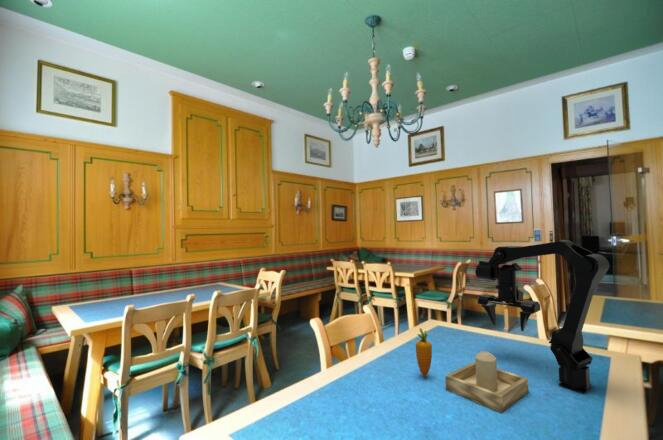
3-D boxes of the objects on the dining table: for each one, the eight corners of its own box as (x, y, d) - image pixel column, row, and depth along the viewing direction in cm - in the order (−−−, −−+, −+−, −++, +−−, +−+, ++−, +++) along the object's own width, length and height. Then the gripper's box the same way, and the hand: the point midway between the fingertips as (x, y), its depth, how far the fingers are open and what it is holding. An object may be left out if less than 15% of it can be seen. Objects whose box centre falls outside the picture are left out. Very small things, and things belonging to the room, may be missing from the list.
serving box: (528, 392, 94) (528, 378, 94) (501, 413, 84) (500, 397, 84) (475, 373, 106) (474, 361, 106) (445, 389, 97) (445, 375, 97)
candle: (501, 392, 92) (499, 356, 93) (481, 392, 92) (480, 356, 93) (491, 382, 98) (490, 348, 98) (473, 383, 98) (472, 349, 98)
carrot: (433, 381, 102) (432, 332, 103) (417, 379, 103) (415, 331, 104) (432, 374, 107) (430, 327, 107) (416, 373, 108) (414, 326, 108)
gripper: (545, 282, 112) (547, 329, 112) (490, 277, 127) (491, 318, 126) (532, 287, 105) (534, 336, 105) (476, 280, 120) (477, 324, 119)
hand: (508, 327), depth 114 cm, fingers open, 9 cm apart
